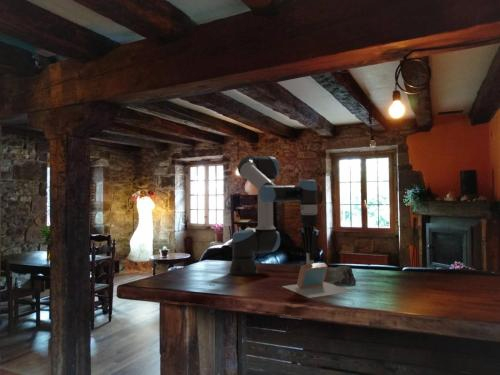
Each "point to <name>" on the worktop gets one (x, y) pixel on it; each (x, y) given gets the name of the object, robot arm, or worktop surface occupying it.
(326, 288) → the board
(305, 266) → the picture frame
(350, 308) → the worktop surface
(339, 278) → the stone
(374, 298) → the worktop surface
